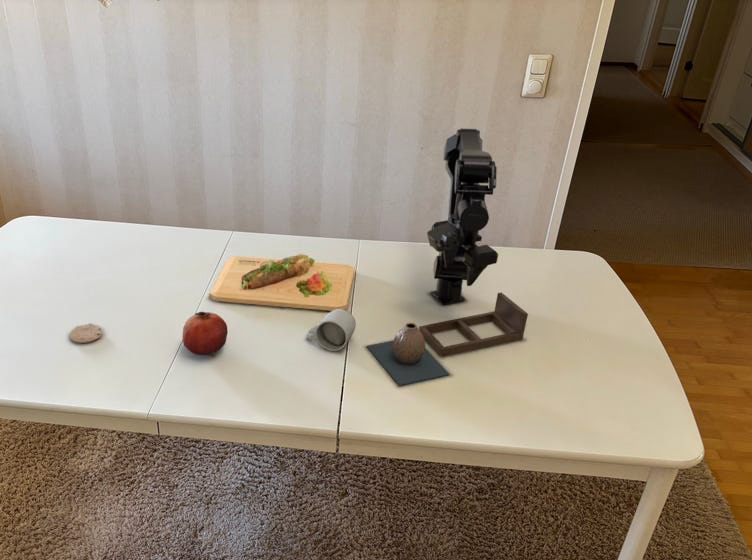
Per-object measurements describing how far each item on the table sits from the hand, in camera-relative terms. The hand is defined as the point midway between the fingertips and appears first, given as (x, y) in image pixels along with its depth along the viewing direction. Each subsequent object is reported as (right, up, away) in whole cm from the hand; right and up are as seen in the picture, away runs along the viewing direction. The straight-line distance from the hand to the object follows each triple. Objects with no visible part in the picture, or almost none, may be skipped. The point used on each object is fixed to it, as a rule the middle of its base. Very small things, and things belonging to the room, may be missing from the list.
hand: (458, 276), depth 166 cm
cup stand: (+3, -14, +3) cm, 14 cm away
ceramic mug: (-29, -15, +2) cm, 33 cm away
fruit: (-58, -17, -1) cm, 60 cm away
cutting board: (-40, 0, +24) cm, 46 cm away
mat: (-13, -19, -5) cm, 24 cm away
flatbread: (-87, -13, +5) cm, 88 cm away
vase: (-13, -19, -5) cm, 23 cm away
